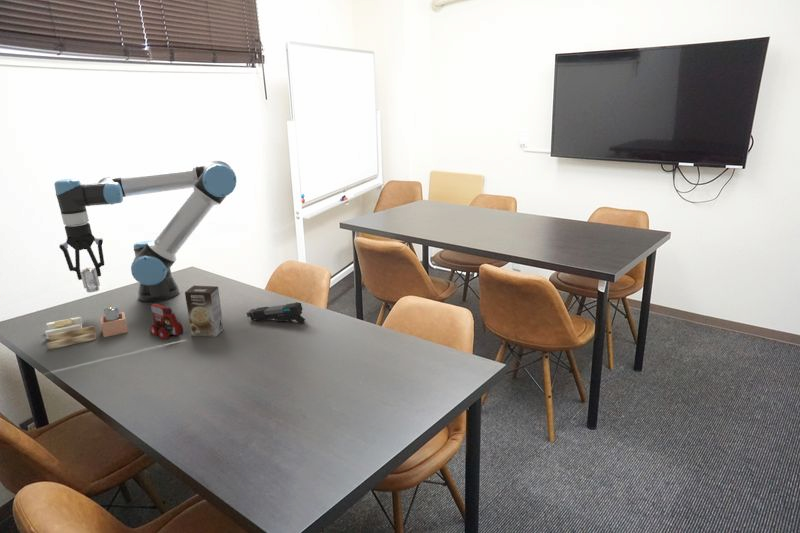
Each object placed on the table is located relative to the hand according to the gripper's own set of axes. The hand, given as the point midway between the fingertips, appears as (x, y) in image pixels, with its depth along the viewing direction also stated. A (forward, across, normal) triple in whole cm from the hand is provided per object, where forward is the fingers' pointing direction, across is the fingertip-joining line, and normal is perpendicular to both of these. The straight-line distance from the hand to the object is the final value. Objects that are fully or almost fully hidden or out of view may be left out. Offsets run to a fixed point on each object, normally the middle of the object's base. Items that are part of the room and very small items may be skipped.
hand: (92, 286), depth 178 cm
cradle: (+12, +10, +10) cm, 19 cm away
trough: (+12, +8, +20) cm, 24 cm away
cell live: (+2, 0, 0) cm, 2 cm away
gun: (+13, -55, +42) cm, 70 cm away
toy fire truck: (+12, -20, +32) cm, 39 cm away
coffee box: (+12, -32, +38) cm, 51 cm away
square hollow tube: (+12, -5, +20) cm, 24 cm away
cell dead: (+11, -5, +20) cm, 23 cm away
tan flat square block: (+9, +10, +10) cm, 17 cm away
